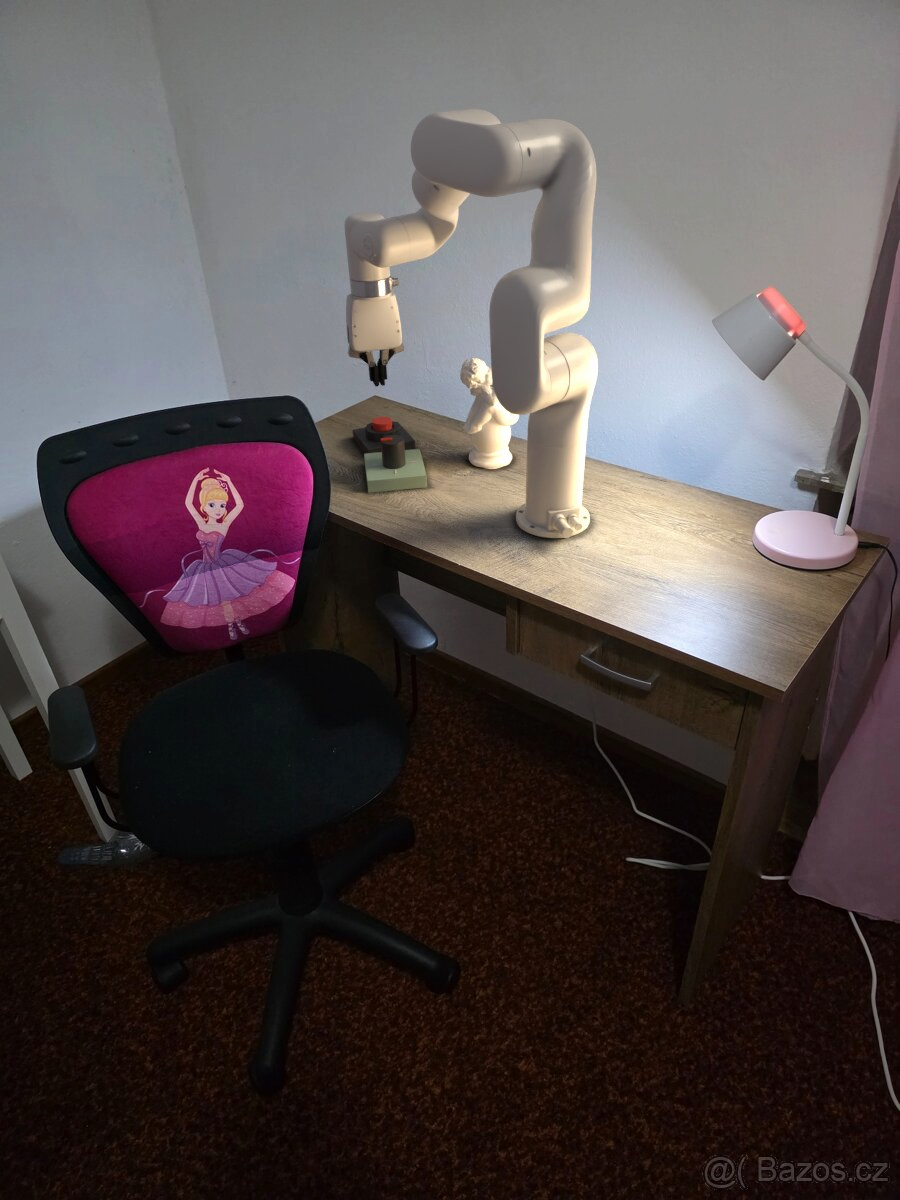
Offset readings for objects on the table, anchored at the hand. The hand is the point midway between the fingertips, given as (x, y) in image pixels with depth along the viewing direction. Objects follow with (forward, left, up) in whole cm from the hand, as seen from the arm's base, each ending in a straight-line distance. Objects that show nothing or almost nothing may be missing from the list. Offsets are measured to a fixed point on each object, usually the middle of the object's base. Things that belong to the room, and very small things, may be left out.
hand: (378, 383), depth 158 cm
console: (-15, +1, -13) cm, 20 cm away
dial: (-15, +1, -11) cm, 18 cm away
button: (0, 0, -10) cm, 10 cm away
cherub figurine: (-13, -20, -13) cm, 27 cm away
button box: (0, 0, -13) cm, 13 cm away
